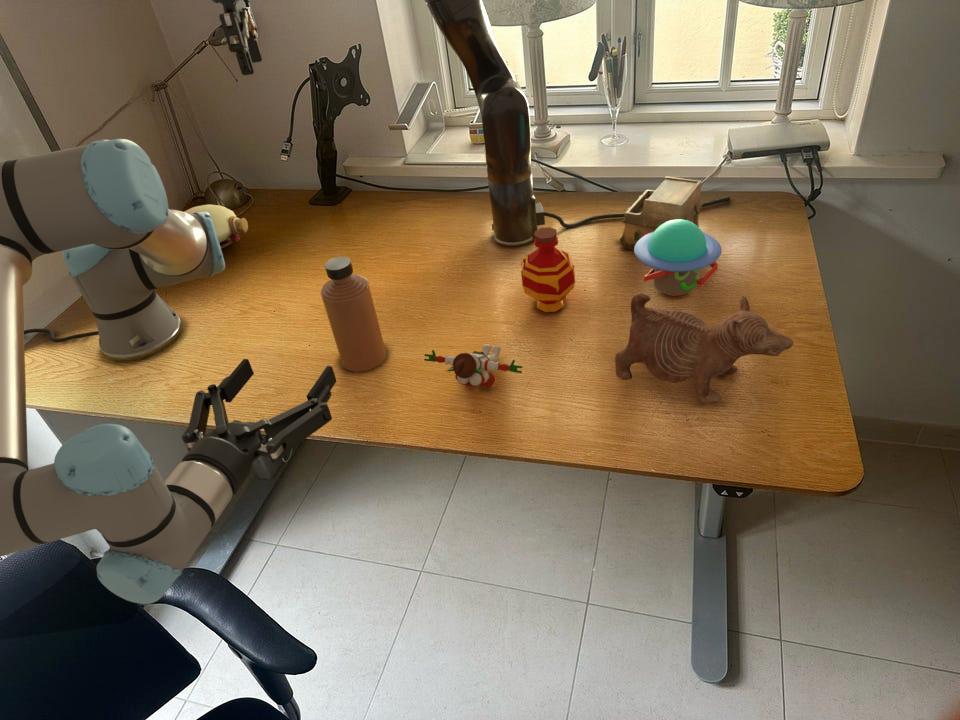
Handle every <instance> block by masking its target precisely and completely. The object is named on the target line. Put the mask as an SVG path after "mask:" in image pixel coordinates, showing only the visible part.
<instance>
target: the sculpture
mask: <svg viewBox="0 0 960 720" xmlns="http://www.w3.org/2000/svg"><path fill="white" fill-rule="evenodd" d="M651 300H652V298H651V296H650V295H649V294H647V293H645V292H637V293H635V294H633V296H632V298H631V299H630V314H631V320H630V321H631V323H630V327H629V337H628V341H627V344H626V346H625V348H623V349H621V350H619V351H617V352H616V353H615V356H614V365H615V374H616V377H617V378H618V379H621V380H624V381H627V380H631V379H632V378H633V374H632V370H631V367H632V365H633V364H637V363H643V364H644V365H645V366H644V367H646V369H647V371H648V372H649V373H650V375H651V376H653V377H654V378H655V379H658V380H659V381H662V382H665V383H669V384H678V383H683V382H686V381H688V380H690V379H691V380H692V383H693V388H694V391H695V394H696V396H697V399H698V400H699V401H701V402H703V403H706V404H717V403H720V402H721V401H723V395H722V394H721V393H719V392H717V391H715V390H713V389H712V388H711V383H712V378H713V377H715V376H719V375H725V376H731V375H732V376H733V375H734V374H736V373H738V367H737V366H736V365H734V364H735V363H736V361H737V360H738V359H740V358H742V357H745V356H749V355H760V356H761V355H762V356H767V357H768V356H769V357H778V356H780V355H781V354H782V353H783V352H785V351H787V350H789V349H791V348H792V347H793V345H794V341H793V340H792V338H790V337H789V336H788V335H785V334H784V333H781V332H779V331H776V330H774V329H773V328H771V326H769V324H768V322H767V321H766V319H765V318H764V317H762V316H761V315H760V314H758V313H757V312H755V311H751V307H750V303H749V300H748V299H747V296H745V295H743V296H740V301H739V302H740V303H739V309H738V311H737V312H735V313H732V314H730V315H729V316H728V317H726V318H725V319H723V320H722V321H720V322H719V323H718V324H716V325H714V326H709V325H708V324H707V323H706V322H705V321H704V320H703V319H702V318H700V317H698V316H697V315H695V314H692V313H690V312H689V311H688V312H687V311H684V310H668V309H663V308H656V307H646V306H645V305H646V303H648V302H649V301H651Z"/></svg>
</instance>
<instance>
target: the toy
mask: <svg viewBox="0 0 960 720" xmlns="http://www.w3.org/2000/svg"><path fill="white" fill-rule="evenodd" d="M491 348H492V353H491V354H490V352H491ZM501 349H502V346H499V345H493V346H492V345H490V344H488V343H486V344H483V345H482V351H481V350H473V352H471V353H469V352H462V353H459V354H457V355H456V356H452V355H451V356H449V355H446V356H442V355H437V354H436V351H435V350H434V349H431V352H432V354H428V353H425V354H424V357H428V358H424V359H423V361H425V362H431V363H436V362H437V363H439V364H444V363H445V365H446V366H448V365H449V366H450V367H449V368H447V369H445V370H444V372H447V373H448V372H449V373H450V372H454V374H455V377H454V378H455V380H456V381H457V383H459V384H460V385H462V386H465V387H469V388H470V387H473V388H474V387H475V388H476V387H480V386H482V387H483V389H488V388H492V387H493V386H494V385H495V382H496V375H494V374H492V373H489V372H488V371H491V372H492V371H493V372H494V371H496V372H499V371H503V372H510V373H517V374H522V373H523V371H522V370H518V369H523V366H522V365H516V364H515V362H516V360H515V359H513V360H512V361H511V362H510V364H507V363H500V352H501Z"/></svg>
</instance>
